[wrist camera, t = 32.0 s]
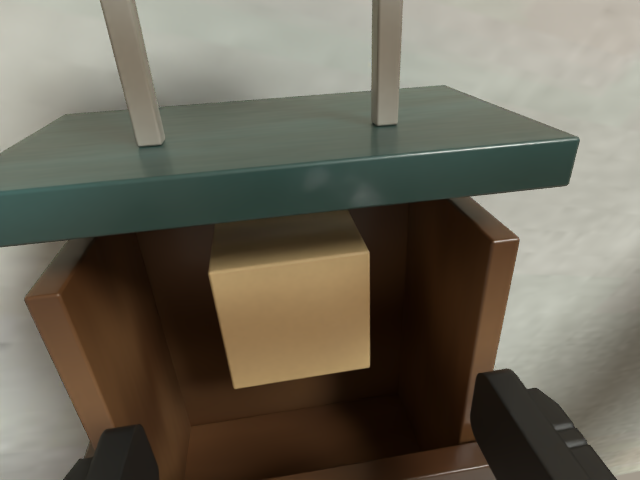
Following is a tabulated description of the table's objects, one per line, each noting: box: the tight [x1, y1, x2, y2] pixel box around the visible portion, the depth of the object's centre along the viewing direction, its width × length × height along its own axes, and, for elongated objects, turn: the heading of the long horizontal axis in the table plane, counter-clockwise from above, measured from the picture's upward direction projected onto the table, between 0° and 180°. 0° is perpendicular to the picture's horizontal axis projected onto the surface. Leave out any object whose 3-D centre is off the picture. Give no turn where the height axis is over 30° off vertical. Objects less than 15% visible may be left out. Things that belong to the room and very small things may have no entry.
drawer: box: [0, 0, 580, 480], centre depth 14 cm, size 22×14×8 cm, turn 3°
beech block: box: [208, 210, 370, 389], centre depth 15 cm, size 5×5×5 cm
